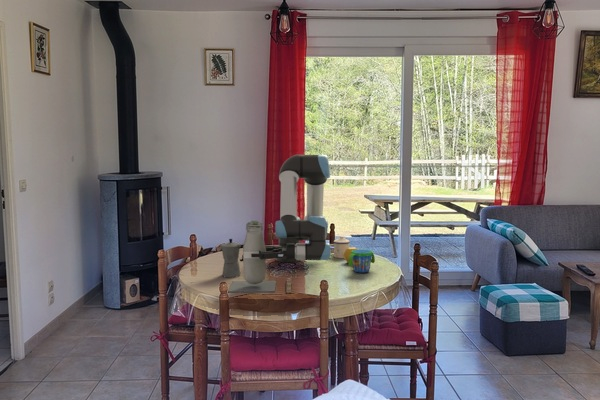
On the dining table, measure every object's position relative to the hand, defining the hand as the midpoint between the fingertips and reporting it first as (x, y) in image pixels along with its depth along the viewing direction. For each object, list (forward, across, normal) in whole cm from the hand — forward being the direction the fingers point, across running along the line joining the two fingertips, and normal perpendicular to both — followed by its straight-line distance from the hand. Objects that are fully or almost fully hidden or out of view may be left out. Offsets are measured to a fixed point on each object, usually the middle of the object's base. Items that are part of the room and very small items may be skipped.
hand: (244, 252), depth 216 cm
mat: (-3, +1, -16) cm, 16 cm away
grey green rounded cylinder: (-4, 0, -14) cm, 15 cm away
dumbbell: (-54, +38, -16) cm, 68 cm away
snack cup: (-55, +25, -16) cm, 63 cm away
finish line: (-19, 0, -16) cm, 25 cm away
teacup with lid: (-47, +59, -16) cm, 77 cm away
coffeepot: (+8, +21, -16) cm, 28 cm away
